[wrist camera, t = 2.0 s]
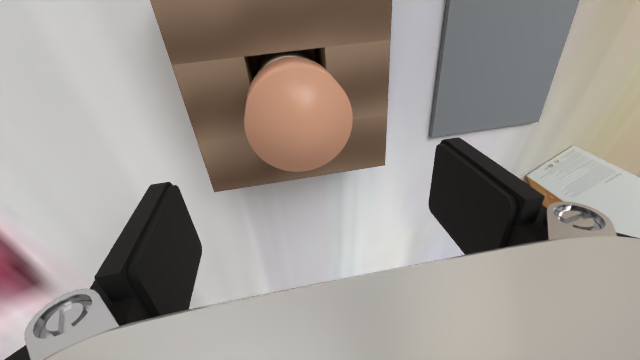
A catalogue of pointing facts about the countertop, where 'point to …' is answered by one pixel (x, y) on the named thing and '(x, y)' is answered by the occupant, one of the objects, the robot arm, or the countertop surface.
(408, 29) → the countertop surface
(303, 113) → the plug
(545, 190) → the small box
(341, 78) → the socket block
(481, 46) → the mat
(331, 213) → the countertop surface
